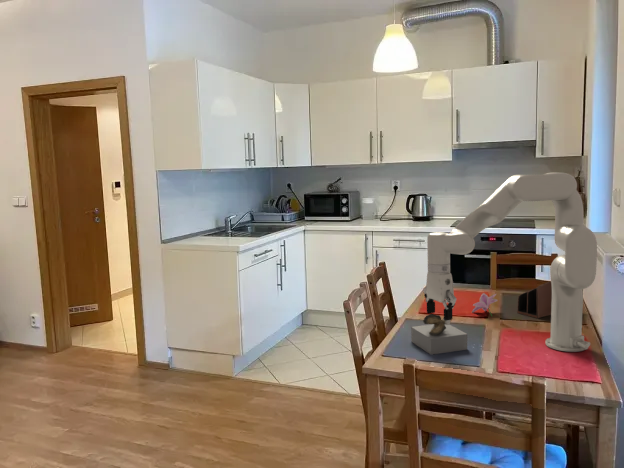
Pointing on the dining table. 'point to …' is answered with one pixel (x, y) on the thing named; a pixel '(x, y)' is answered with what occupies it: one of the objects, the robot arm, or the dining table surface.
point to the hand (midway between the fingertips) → (439, 316)
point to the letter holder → (536, 301)
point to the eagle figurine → (436, 324)
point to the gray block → (439, 339)
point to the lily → (484, 302)
